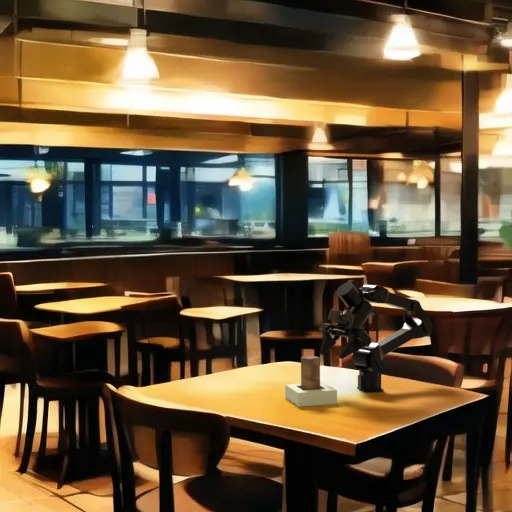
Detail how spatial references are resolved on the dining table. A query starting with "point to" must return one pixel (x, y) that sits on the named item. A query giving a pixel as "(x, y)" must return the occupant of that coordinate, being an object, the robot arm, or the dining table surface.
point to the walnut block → (310, 373)
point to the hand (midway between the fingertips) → (330, 356)
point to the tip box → (311, 395)
